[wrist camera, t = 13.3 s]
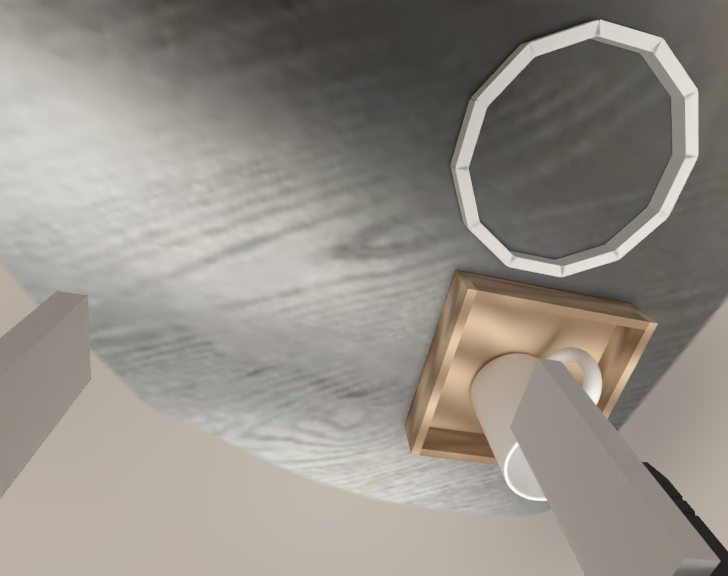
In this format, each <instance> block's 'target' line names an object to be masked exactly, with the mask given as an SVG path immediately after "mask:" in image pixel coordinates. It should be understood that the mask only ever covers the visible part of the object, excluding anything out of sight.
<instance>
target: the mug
mask: <svg viewBox="0 0 728 576" xmlns="http://www.w3.org/2000/svg"><path fill="white" fill-rule="evenodd" d="M545 359H550V360H557V361H561V362H562V363H563V364H565V363H567V362H575V363H576V364H578V365H579V367H580V368H581V370H582V372H583V386H582V388H583V389H584V390H585V392H586V393H587V394H588V395H589V397H590V398H591V399H592V400H593V402H594V403H595V404H596V405H597V403H598V401H599V398H600V395H601V390H602V377H601V372H600V369H599V366H598V364H597V363H596V361H595V360H594V358H593V357H592V356H591V355H590V354H588V353H587V352H586V351H584V350H582V349H579V348H575V347H566V348H561V349H559V350H557V351H555V352H553V353H552V354H550V355H549V356H548V357H547V358H545ZM537 360H538V358H536V357H534V356H531V355H527V354H520V353H515V354H507V355H504V356H501V357H498V358H496V359H494V360H492V361H490V362H489V363H487V364H486V365H485V366H484V367H483V368H482V369H481V370H480V371H479V372H478V374H477V375H476V377H475V378H474V381H473V383H472V387H471V393H470V394H471V402H472V406H473V408H474V411H475V413H476V416H477V418H478V420H479V422H480V425H481V427H482V429H483V431H484V434H485V436H486V438H487V440H488V442H489V445H490V447H491V449H492V451H493V454H494V456H495V458H496V460H497V463H498V465H499V467H500V469H501V471H502V474H503V476H504V478H505V480H506V482H507V484H508V486H509V487H510V488H511V489H512V490H513V491H514V492H515V493H517V494H518V495H520V496H522V497H524V498H527V499H531V500H536V501H547V499H546V497H545V495H544V493H543V491H542V489H541V487H540V485H539V483H538V481H537V480H536V478H535V476H534V474H533V472H532V470H531V468H530V466H529V464H528V462H527V460H526V458H525V456H524V454H523V452H522V450H521V448H520V446H519V444H518V442H517V440H516V438H515V436H514V434H513V432H512V430H511V428H510V426H511V423H512V421H513V419H514V416H515V414H516V411H517V409H518V406H519V404H520V401H521V399H522V397H523V394H524V392H525V389H526V387H527V384H528V382H529V379H530V377H531V375H532V372H533V370H534V367H535V365H536V362H537Z"/></svg>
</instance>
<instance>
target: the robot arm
mask: <svg viewBox="0 0 728 576" xmlns="http://www.w3.org/2000/svg"><path fill="white" fill-rule="evenodd" d="M90 380H91V370H90V344H89V320H88V295H80V294H73V293H66V292H59V291H57V292H56V293H54V294H53V295H52V296H51V297H49V298H48V299H47V300H46V301H45V302H43V303H42V304H41V305H40V306H39V307H37V308H36V309H35V310H34V311H33V312H31V313H30V314H29V315H28V316H27V317H25V318H24V319H23V320H22V321H21V322H19V323H18V324H17V325H16V326H14V327H13V328H12V329H11V330H10V331H9V332H7V333H6V334H5V335H4V336H2V337H1V338H0V499H1V497H2V496H3V494H4V493H5V492H6V491H7V489H8V488H9V487H10V485H11V484H12V483H13V481H14V480H15V479H16V478H17V476H18V475H19V474H20V472H21V471H22V470H23V468H24V467H25V466H26V464H27V463H28V461H29V460H30V459H31V458H32V456H33V455H34V453H35V452H36V451H37V450H38V448H39V447H40V446H41V445H42V443H43V442H44V441H45V439H46V438H47V437H48V435H49V434H50V433H51V431H52V430H53V429H54V427H55V426H56V425H57V423H58V422H59V421H60V419H61V418H62V417H63V415H64V414H65V413H66V412H67V410H68V409H69V408H70V406H71V405H72V404H73V402H74V400H76V398H77V397H78V396H79V394H80V393H81V392H82V390H83V389H84V388H85V386H86V385H87V384H88V382H89V381H90ZM510 428H511V430H512V432H513V434H514V436H515V438H516V440H517V442H518V444H519V446H520V448H521V450H522V452H523V454H524V456H525V458H526V460H527V462H528V464H529V466H530V468H531V470H532V472H533V474H534V476H535V478H536V480H537V481H538V483H539V485H540V487H541V489H542V491H543V493H544V495H545V497H546V499H547V501H548V503H549V505H550V507H551V509H552V511H553V513H554V515H555V517H556V519H557V521H558V523H559V525H560V527H561V528H562V530H563V532H564V535H565V536H566V538H567V540H568V542H569V544H570V546H571V548H572V550H573V552H574V554H575V556H576V558H577V560H578V562H579V564H580V566H581V568H582V570H583V572H584V574H585V576H728V551H727V550H726V549H725V548H724V546H723V545H722V544H721V543H720V542H719V541H718V539H717V538H716V537H715V536H714V534H713V533H712V532H711V531H710V530H709V528H708V527H707V526H706V525H705V524H704V522H703V521H702V520H701V519H700V518H699V517H698V516H695V511H694V510H693V509H692V508H691V507H690V505H689V504H688V503H687V502H686V501H683V499H682V496H681V495H680V493H679V492H678V491H677V490H676V489H675V488H674V486H673V485H672V484H671V483H670V481H668V479H667V478H666V477H664V476H663V475H662V474H661V473H660V472H658V471H657V470H656V469H655V468H653V467H652V466H651V465H650V464H648V463H647V462H641V461H640V460H639V458H638V457H637V456H636V454H635V453H634V452H633V451H632V449H631V448H630V447H629V446H628V444H627V443H626V442H625V441H624V439H623V438H622V437H621V436H620V434H619V433H618V432H617V430H616V429H615V428H614V427H613V425H612V424H611V423H610V422H609V420H608V419H607V418H606V417H605V415H604V414H603V413H602V412H601V410H600V409H599V408H598V407H597V405H596V404H595V403H594V402H593V400H592V399H591V398H590V397H589V395H588V394H587V393H586V392H585V390H584V389H583V388H582V387H581V385H580V384H579V383H578V382H577V380H576V379H575V378H574V377H573V375H572V374H571V373H570V372H569V370H568V369H567V368H566V367H565V365H564V364H563V363H562V362H561V361H557V360H550V359H542V358H538V360H537V362H536V365H535V367H534V370H533V372H532V375H531V377H530V379H529V382H528V384H527V387H526V389H525V392H524V394H523V397H522V399H521V401H520V404H519V406H518V409H517V411H516V414H515V416H514V419H513V421H512V423H511V426H510Z"/></svg>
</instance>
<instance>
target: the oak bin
mask: <svg viewBox="0 0 728 576" xmlns="http://www.w3.org/2000/svg"><path fill="white" fill-rule="evenodd" d="M656 326H657V323H656V322H655V321H653V320H652V319H651V318H649V317H648V316H647V315H645V314H644V313H643V312H641V311H640V310H639V309H637V308H636V307H635V306H633V305H632V304H630V303H625V302H620V301H615V300H609V299H604V298H599V297H594V296H588V295H583V294H578V293H573V292H568V291H562V290H557V289H552V288H547V287H541V286H536V285H531V284H526V283H520V282H515V281H510V280H505V279H500V278H494V277H489V276H484V275H479V274H473V273H468V272H463V271H458V270H455V273H454V277H453V280H452V283H451V286H450V289H449V292H448V295H447V298H446V301H445V304H444V307H443V310H442V313H441V316H440V319H439V322H438V325H437V329H436V332H435V335H434V338H433V341H432V344H431V347H430V350H429V353H428V356H427V359H426V362H425V365H424V368H423V371H422V374H421V377H420V381H419V384H418V387H417V390H416V393H415V396H414V399H413V402H412V405H411V408H410V411H409V414H408V417H407V420H406V423H405V430H406V434H407V438H408V443H409V447H410V451H411V454H413V455H421V456H429V457H438V458H446V459H454V460H462V461H470V462H478V463H486V464H494V465H498V463H497V460H496V458H495V456H494V454H493V451H492V449H491V447H490V445H489V442H488V440H487V438H486V436H485V434H484V431H483V429H482V427H481V425H480V422H479V420H478V418H477V416H476V413H475V411H474V408H473V406H472V402H471V394H470V393H471V387H472V383H473V381H474V378H475V377H476V375H477V374H478V372H479V371H480V370H481V369H482V368H483V367H484V366H485V365H486V364H487V363H489V362H490V361H492V360H494V359H496V358H498V357H501V356H504V355H507V354H515V353H520V354H527V355H531V356H534V357H536V358H542V359H545V358H547V357H548V356H549V355H550V354H552V353H553V352H555V351H557V350H559V349H561V348H566V347H575V348H579V349H582V350H584V351H586V352H587V353H588V354H590V355H591V356H592V357H593V358H594V360H595V361H596V363H597V364H598V366H599V369H600V372H601V377H602V390H601V395H600V398H599V401H598V403H597V407H598V408H599V409H600V410H601V412H602V413H603V414H604V415H605V417H606V418H608V417H609V415H610V413H611V411H612V409H613V407H614V405H615V403H616V401H617V400H618V398H619V396H620V394H621V392H622V390H623V388H624V386H625V385H626V383H627V381H628V379H629V377H630V375H631V373H632V371H633V369H634V368H635V366H636V364H637V362H638V360H639V358H640V356H641V354H642V353H643V351H644V349H645V347H646V345H647V343H648V341H649V339H650V337H651V336H652V334H653V332H654V330H655V328H656ZM564 365H565V367H566V368H567V369H568V370H569V372H570V373H571V374H572V375H573V377H574V378H575V379H576V380H577V382H578V383H579V384H580V385H581V387H582V386H583V372H582V370H581V368H580V367H579V365H578V364H576V363H575V362H567V363H565V364H564Z"/></svg>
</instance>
